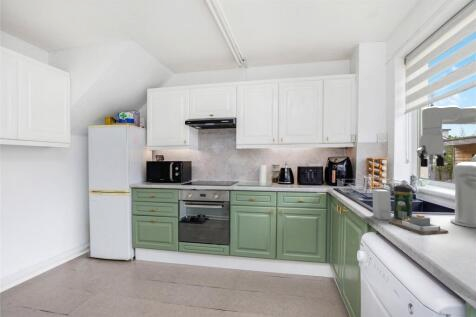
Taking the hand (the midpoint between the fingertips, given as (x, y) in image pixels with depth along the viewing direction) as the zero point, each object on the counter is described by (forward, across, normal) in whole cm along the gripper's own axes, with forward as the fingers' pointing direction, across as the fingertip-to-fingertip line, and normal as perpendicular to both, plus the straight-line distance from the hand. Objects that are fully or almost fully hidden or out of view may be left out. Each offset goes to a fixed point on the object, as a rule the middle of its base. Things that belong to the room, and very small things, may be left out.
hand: (432, 166), depth 114 cm
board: (+29, +12, +2) cm, 31 cm away
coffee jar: (+30, +2, -14) cm, 33 cm away
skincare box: (+29, +14, -17) cm, 37 cm away
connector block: (+28, +13, +4) cm, 31 cm away
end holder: (+29, +13, +4) cm, 32 cm away
